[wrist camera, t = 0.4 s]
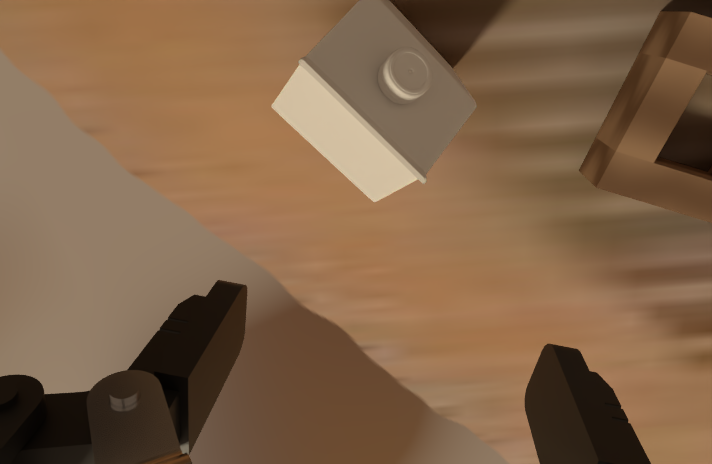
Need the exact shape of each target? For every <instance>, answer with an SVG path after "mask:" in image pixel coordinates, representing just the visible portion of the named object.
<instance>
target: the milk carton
mask: <svg viewBox="0 0 712 464" xmlns="http://www.w3.org/2000/svg"><path fill="white" fill-rule="evenodd" d="M298 62H299V64H300V65H299V66H298V68H297V69H296V71H295V72H294V74H293V75H292V77H291V78H290V79H289V81H288V82H287V84H286V85H285V87H284V88H283V90H282V91H281V93H280V94H279V96H278V97H277V99H276V100H275V101H274V103H273V104H272V108H273V109H274V110H275V111H276V112H277V113H278V114H279V115H280V116H281V117H282V118H283V119H285V120H286V121H287V122H288V123H289V124H290V125H291V126H292V127H293V128H294V129H295V130H296V131H297V132H299V133H300V134H301V135H302V136H303V137H304V138H305V139H306V140H307V141H308V142H309V143H310V144H311V145H313V146H314V147H315V148H316V149H317V150H318V151H319V152H320V153H321V154H322V155H323V156H324V157H325V158H327V159H328V160H329V161H330V162H331V163H332V164H333V165H334V166H335V167H336V168H337V169H338V170H339V171H341V172H342V173H343V174H344V175H345V176H346V177H347V178H348V179H349V180H350V181H351V182H352V183H353V184H355V185H356V186H357V187H358V188H359V189H360V190H361V191H362V192H363V193H364V194H365V195H366V196H368V197H369V198H370V199H371V200H372V201H373V202H376V201H378V200H380V199H382V198H384V197H386V196H388V195H389V194H391V193H393V192H395V191H397V190H399V189H401V188H403V187H404V186H406V185H408V184H410V183H412V182H414V181H416V180H419V181H420V182H422V183H423V184H424V183H426V182H427V180H426V174H427V172H428V171H429V170H430V168H431V167H432V166H433V164H434V163H435V162H436V160H437V159H438V158H439V156H440V155H441V154H442V152H443V151H444V150H445V148H446V147H447V146H448V144H449V143H450V142H451V140H452V139H453V138H454V136H455V135H456V134H457V132H458V131H459V130H460V128H461V127H462V126H463V124H464V123H465V122H466V120H467V119H468V118H469V117H470V115H471V114H472V113H473V111H474V110H475V108H476V107H477V105H476V102H475V100H474V99H473V97H472V96H471V94H470V93H469V91H468V90H467V89H466V87H465V86H464V84H463V83H462V81H461V80H460V79H459V77H458V76H457V74H456V73H455V71H454V70H453V68H452V67H451V66H450V65H449V64H448V62H447V61H446V60H445V59H444V58H443V57H442V56H441V55H440V54H439V53H438V52H437V51H436V50H435V49H434V47H433V46H432V45H431V44H430V43H429V42H428V41H427V40H426V39H425V38H424V37H423V36H422V35H421V34H420V32H419V31H418V30H417V29H416V28H415V27H414V26H413V25H412V24H411V23H410V22H409V21H408V20H407V19H406V18H405V16H404V15H403V14H402V13H401V12H400V11H399V10H398V9H397V8H396V7H395V6H394V5H393V4H392V3H391V2H390V1H389V0H359V1H358V2H357V3H356V4H355V5H354V7H353V8H352V9H351V10H350V11H349V12H348V13H347V14H346V15H345V16H344V17H343V18H342V19H341V20H340V21H339V22H338V23H337V24H336V25H335V26H334V27H333V28H332V29H331V30H330V31H329V33H328V34H327V35H326V36H325V37H324V38H323V39H322V40H321V41H320V42H319V43H318V44H317V45H316V46H315V47H314V48H313V49H312V50H311V51H310V52H309V53H308V54H307V55H306V56H305V57H303V58H301V59H300V60H299V61H298Z"/></svg>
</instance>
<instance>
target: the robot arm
mask: <svg viewBox="0 0 712 464" xmlns="http://www.w3.org/2000/svg"><path fill="white" fill-rule="evenodd" d="M246 305H247V286H246V285H242V284H237V283H232V282H227V281H221V280H218V281H217V282H216V283H215V285H214V286H213V287H212V289H211V290H210V292H209V293H208V295H207V296H206V297H204V296H199V295H193V296H191V297H190V298H188V299H186V300H185V301H183V302H181V303H180V304H178V306H177V307H176V308H175V309H174V311H173V312H172V313H171V314H170V316H169V317H168V320H166V321H165V322H164V323H163V325H162V326H161V327H160V330H159V331H157V333H156V334H155V335H154V336H153V338H152V339H151V340H150V342H149V343H148V344H147V345H146V347H145V348H144V349H143V351H142V352H141V353H140V354H139V356H138V357H137V358H136V360H135V361H134V362H133V363H132V365H131V366H130V367H129V369H128V370H126V371H121V372H117V373H114V374H111V375H109V376H107V377H105V378H103V379H102V380H100V381H99V382H98V383H97V384H96V385H95V386H93V388H92V389H91V390H90V391H86V392H75V393H59V394H44V389H43V386H42V384H41V383H40V382H39V381H38V380H37V379H35V378H33V377H30V376H26V375H8V376H2V377H0V464H192V462H191V459H190V457H189V454H190V452H191V450H192V448H193V446H194V444H195V442H196V440H197V438H198V436H199V434H200V432H201V430H202V428H203V426H204V424H205V422H206V420H207V418H208V416H209V414H210V412H211V410H212V408H213V406H214V404H215V402H216V399H217V397H218V396H219V394H220V392H221V390H222V387H223V386H224V383H225V381H226V379H227V377H228V375H229V373H230V371H231V369H232V367H233V365H234V363H235V361H236V359H237V357H238V355H239V353H240V350H241V347H242V344H243V340H244V334H245V322H246V321H245V320H246ZM525 411H526V415H527V418H528V422H529V426H530V429H531V433H532V437H533V440H534V444H535V448H536V451H537V455H538V458H539V462H540V464H651V463H650V461H649V459H648V457H647V455H646V453H645V451H644V449H643V447H642V445H641V443H640V442H639V440H638V438H637V436H636V434H635V432H634V430H633V428H632V426H631V424H630V423H628V418H627V416H626V414H625V412H624V410H623V409H621V405H620V403H619V401H618V399H617V397H616V395H615V393H614V391H613V389H612V388H611V387H610V386H609V385H608V384H607V383H606V382H605V381H604V380H603V379H602V377H601V376H600V375H599V374H598V373H596V372H591V371H589V369H588V367H587V365H586V363H585V361H584V358H583V356H582V354H581V352H580V351H579V350H578V349H574V348H569V347H564V346H558V345H553V344H547V345H545V346H544V348H543V350H542V352H541V355H540V357H539V359H538V362H537V364H536V366H535V369H534V371H533V374H532V376H531V378H530V381H529V383H528V386H527V389H526V393H525Z"/></svg>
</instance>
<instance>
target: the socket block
mask: <svg viewBox="0 0 712 464" xmlns="http://www.w3.org/2000/svg"><path fill="white" fill-rule="evenodd" d="M705 74H708V75H711V76H712V18H709V17H706V16H703V15H700V14H697V13H694V12H670V11H660V13H659V15H658V17H657V19H656V21H655V23H654V25H653V27H652V29H651V31H650V33H649V35H648V37H647V39H646V41H645V43H644V45H643V46H642V48H641V50H640V52H639V54H638V56H637V58H636V60H635V62H634V64H633V66H632V68H631V70H630V72H629V74H628V76H627V78H626V80H625V82H624V84H623V85H622V87H621V89H620V91H619V93H618V95H617V97H616V99H615V101H614V103H613V105H612V107H611V109H610V111H609V113H608V115H607V117H606V119H605V121H604V123H603V124H602V126H601V128H600V130H599V132H598V134H597V136H596V138H595V140H594V142H593V144H592V146H591V148H590V150H589V152H588V154H587V156H586V158H585V160H584V162H583V163H582V165H581V167H580V169H579V171H580V172H581V173H582V174H583V175H584V176H585V177H586V178H587V179H588V180H589V181H590V182H591V183H592V184H593V185H594V186H595V187H596V188H600V189H603V190H606V191H610V192H613V193H616V194H619V195H623V196H626V197H629V198H632V199H636V200H639V201H642V202H646V203H649V204H652V205H655V206H659V207H662V208H665V209H668V210H672V211H675V212H678V213H681V214H685V215H688V216H691V217H695V218H698V219H701V220H704V221H708V222H711V223H712V166H711V168H710V169H709V171H708V172H706V171H703V170H700V169H697V168H693V167H690V166H687V165H684V164H680V163H677V162H674V161H671V160H667V159H664V158H661V157H658V155H659V153H660V151H661V149H662V148H663V146H664V144H665V142H666V141H667V139H668V137H669V136H670V134H671V132H672V130H673V129H674V127H675V125H676V124H677V122H678V120H679V118H680V117H681V115H682V113H683V112H684V110H685V108H686V106H687V105H688V103H689V101H690V100H691V98H692V96H693V94H694V93H695V91H696V89H697V88H698V86H699V84H700V82H701V81H702V79H703V77H704V75H705Z"/></svg>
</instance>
